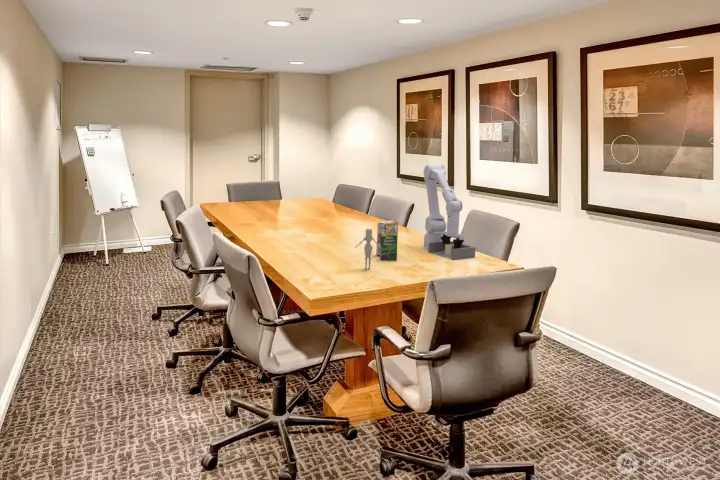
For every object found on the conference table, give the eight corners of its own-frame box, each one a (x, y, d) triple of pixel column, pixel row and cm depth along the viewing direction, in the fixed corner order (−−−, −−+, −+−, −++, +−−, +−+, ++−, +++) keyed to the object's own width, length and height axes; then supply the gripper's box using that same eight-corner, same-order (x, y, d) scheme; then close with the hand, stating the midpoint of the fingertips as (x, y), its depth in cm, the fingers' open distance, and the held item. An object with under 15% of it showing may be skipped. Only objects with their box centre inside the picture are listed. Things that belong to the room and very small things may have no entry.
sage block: (444, 254, 278) (445, 244, 277) (451, 253, 281) (452, 243, 280) (450, 256, 274) (451, 246, 274) (457, 255, 277) (458, 245, 276)
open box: (428, 253, 282) (428, 242, 281) (449, 251, 289) (450, 240, 288) (452, 261, 266) (453, 249, 265) (474, 258, 273) (475, 247, 272)
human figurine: (380, 268, 247) (382, 228, 244) (381, 270, 244) (383, 229, 240) (353, 268, 246) (354, 227, 243) (354, 270, 242) (355, 229, 239)
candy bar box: (384, 257, 270) (385, 223, 267) (375, 255, 273) (377, 222, 270) (397, 253, 279) (398, 221, 276) (389, 252, 282) (390, 220, 279)
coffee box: (379, 260, 263) (380, 232, 261) (379, 259, 266) (380, 231, 264) (396, 260, 263) (398, 233, 261) (396, 259, 266) (397, 232, 264)
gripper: (437, 223, 279) (435, 249, 281) (456, 227, 267) (454, 255, 269) (448, 222, 282) (446, 248, 285) (467, 226, 270) (465, 254, 273)
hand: (451, 251), depth 277 cm, fingers open, 7 cm apart
